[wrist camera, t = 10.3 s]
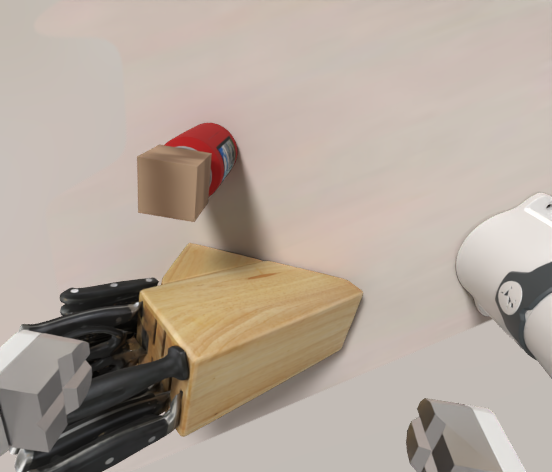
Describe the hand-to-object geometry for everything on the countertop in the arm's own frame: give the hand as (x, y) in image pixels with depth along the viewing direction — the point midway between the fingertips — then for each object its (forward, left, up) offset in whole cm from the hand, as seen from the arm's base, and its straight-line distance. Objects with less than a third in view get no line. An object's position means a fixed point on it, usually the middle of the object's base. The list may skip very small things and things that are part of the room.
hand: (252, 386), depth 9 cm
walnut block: (+10, +4, -27) cm, 29 cm away
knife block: (+5, +24, -39) cm, 46 cm away
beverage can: (+10, +4, -39) cm, 41 cm away
